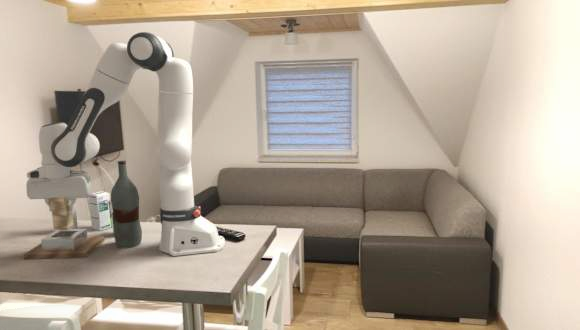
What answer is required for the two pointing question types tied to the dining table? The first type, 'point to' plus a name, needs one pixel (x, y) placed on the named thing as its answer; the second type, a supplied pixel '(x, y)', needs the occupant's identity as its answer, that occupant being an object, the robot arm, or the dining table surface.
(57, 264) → the dining table surface
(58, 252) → the walnut base
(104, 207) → the syrup box
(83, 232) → the steel collar
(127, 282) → the dining table surface
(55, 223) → the birch pin
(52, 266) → the dining table surface
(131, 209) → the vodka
